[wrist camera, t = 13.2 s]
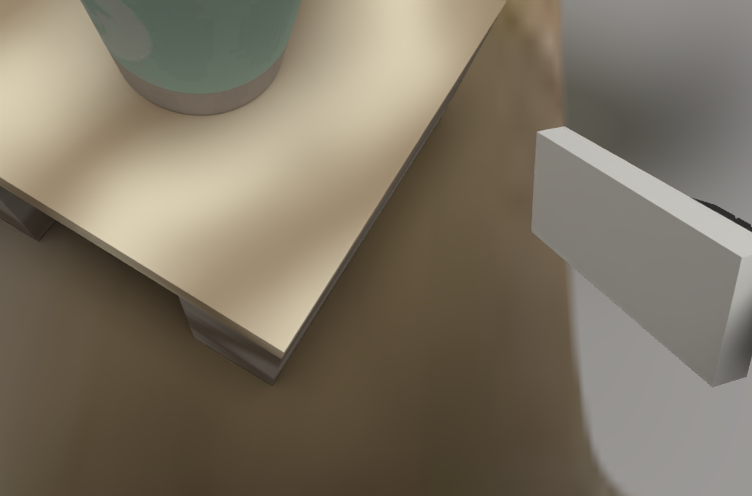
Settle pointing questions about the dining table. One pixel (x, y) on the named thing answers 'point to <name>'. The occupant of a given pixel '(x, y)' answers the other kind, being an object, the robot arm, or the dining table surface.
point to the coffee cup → (196, 48)
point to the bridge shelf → (230, 157)
